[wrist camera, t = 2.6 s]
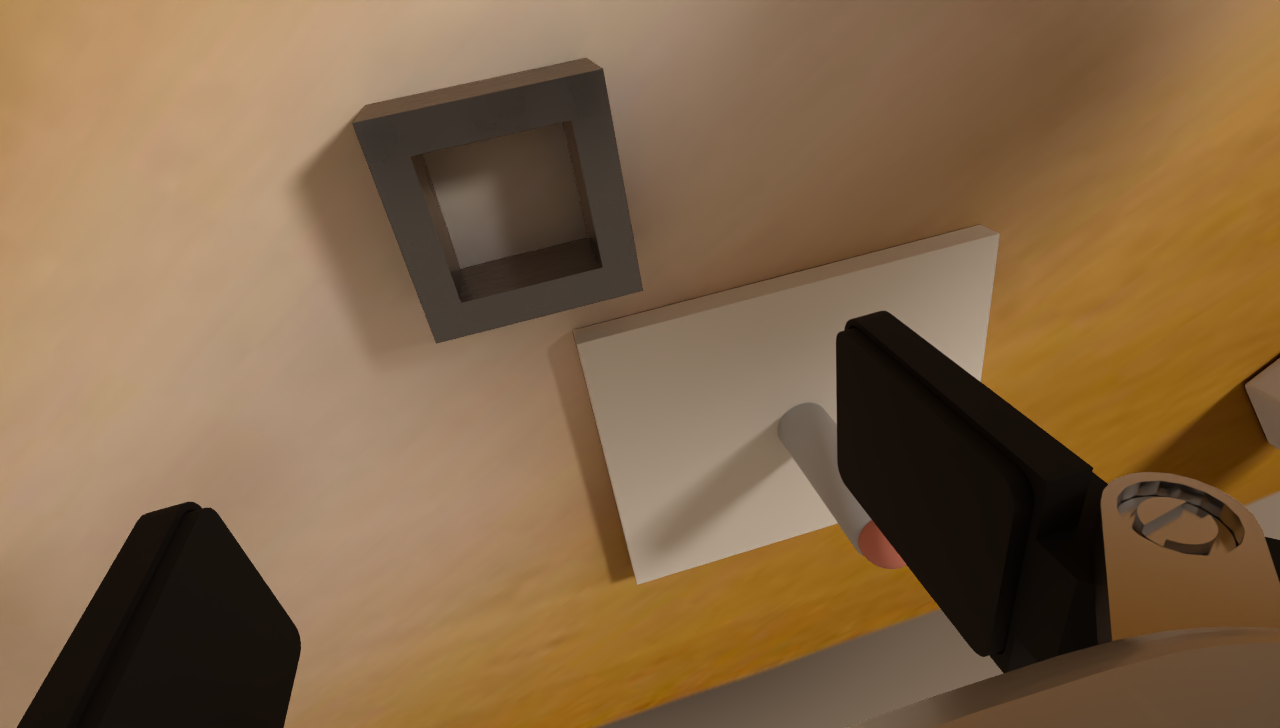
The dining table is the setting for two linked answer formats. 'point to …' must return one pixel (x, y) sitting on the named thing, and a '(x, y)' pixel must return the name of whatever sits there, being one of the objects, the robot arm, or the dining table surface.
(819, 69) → the dining table surface
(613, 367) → the white peg stand
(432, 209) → the grey square socket block
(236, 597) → the robot arm
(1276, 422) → the milk carton
